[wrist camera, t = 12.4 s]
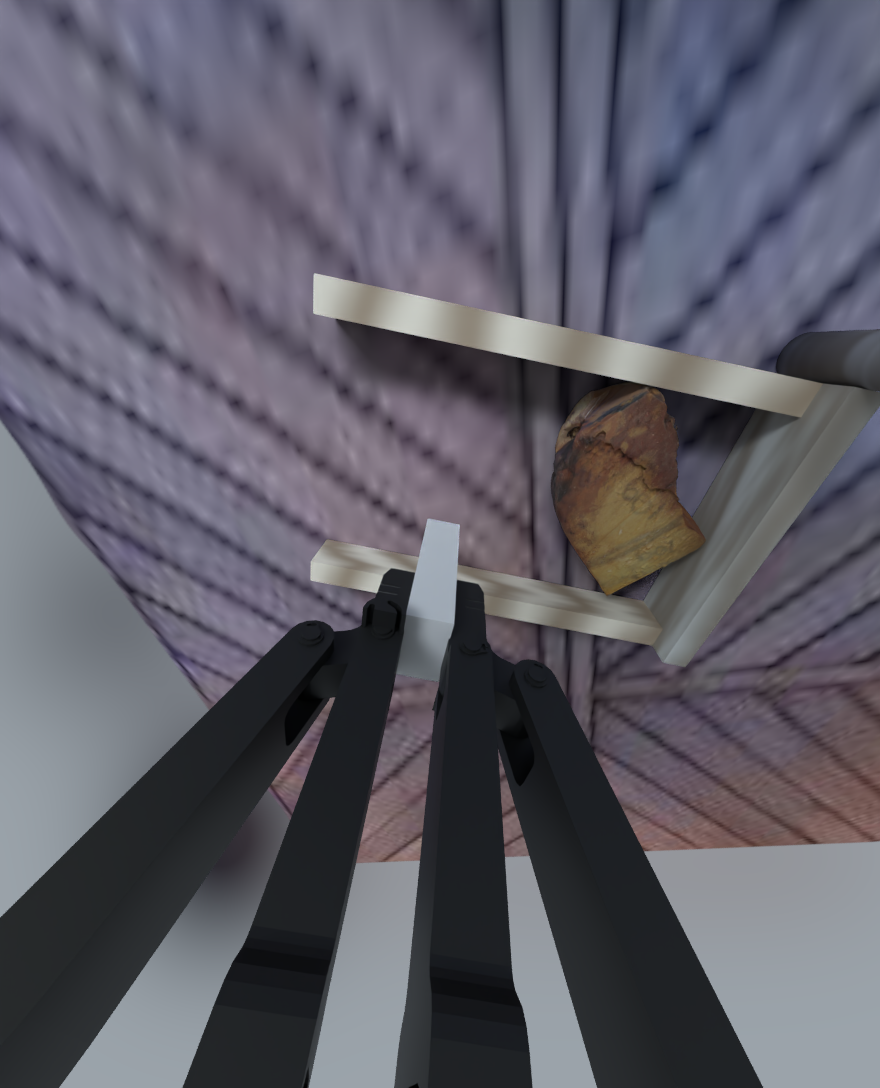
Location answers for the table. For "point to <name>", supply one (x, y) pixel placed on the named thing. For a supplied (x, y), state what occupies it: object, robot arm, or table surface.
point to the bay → (730, 503)
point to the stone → (621, 485)
